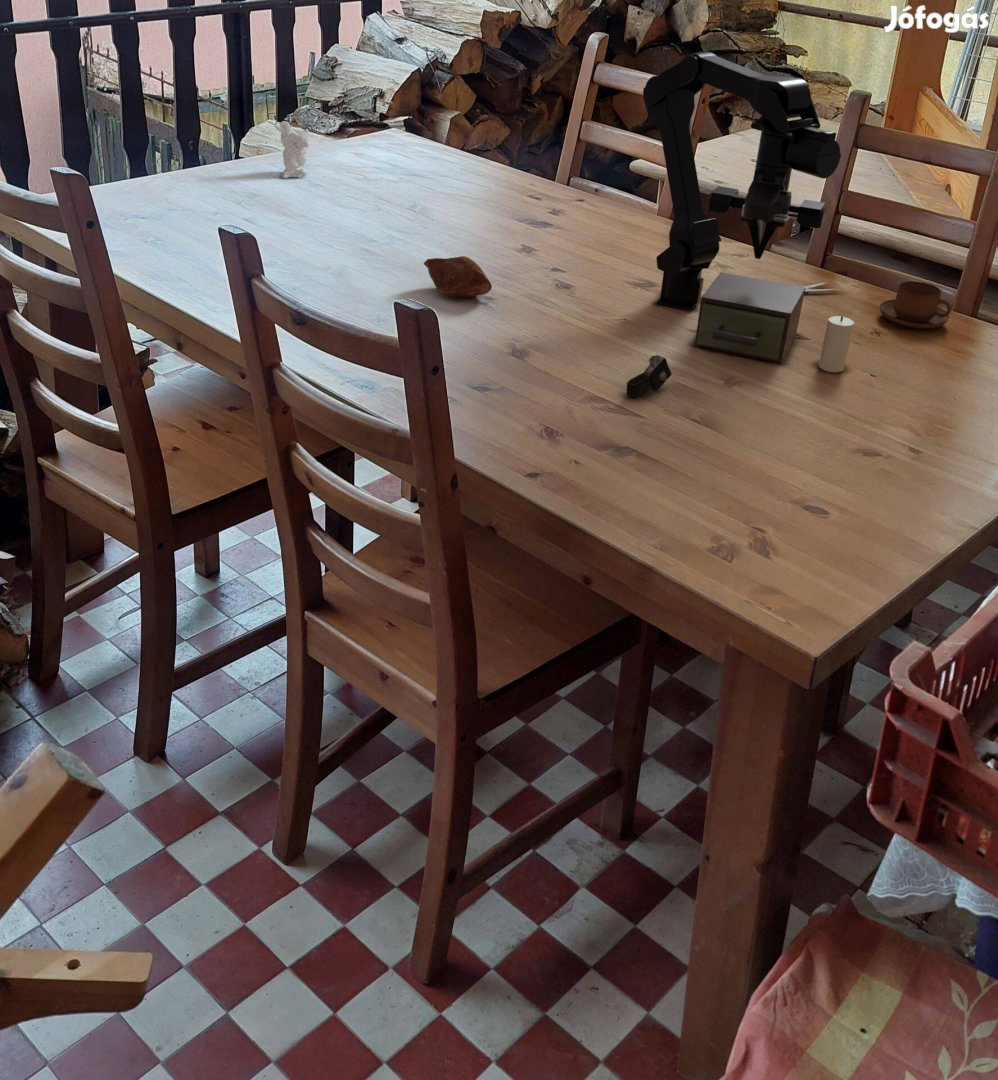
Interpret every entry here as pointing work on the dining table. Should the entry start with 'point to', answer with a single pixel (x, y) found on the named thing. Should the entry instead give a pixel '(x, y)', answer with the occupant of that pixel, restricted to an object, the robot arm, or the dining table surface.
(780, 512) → the dining table surface
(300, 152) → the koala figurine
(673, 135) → the robot arm
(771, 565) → the dining table surface
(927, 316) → the cup and saucer
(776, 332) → the drawer
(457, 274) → the brown rock
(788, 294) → the cabinet
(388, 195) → the dining table surface
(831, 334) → the candle
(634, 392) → the padlock
